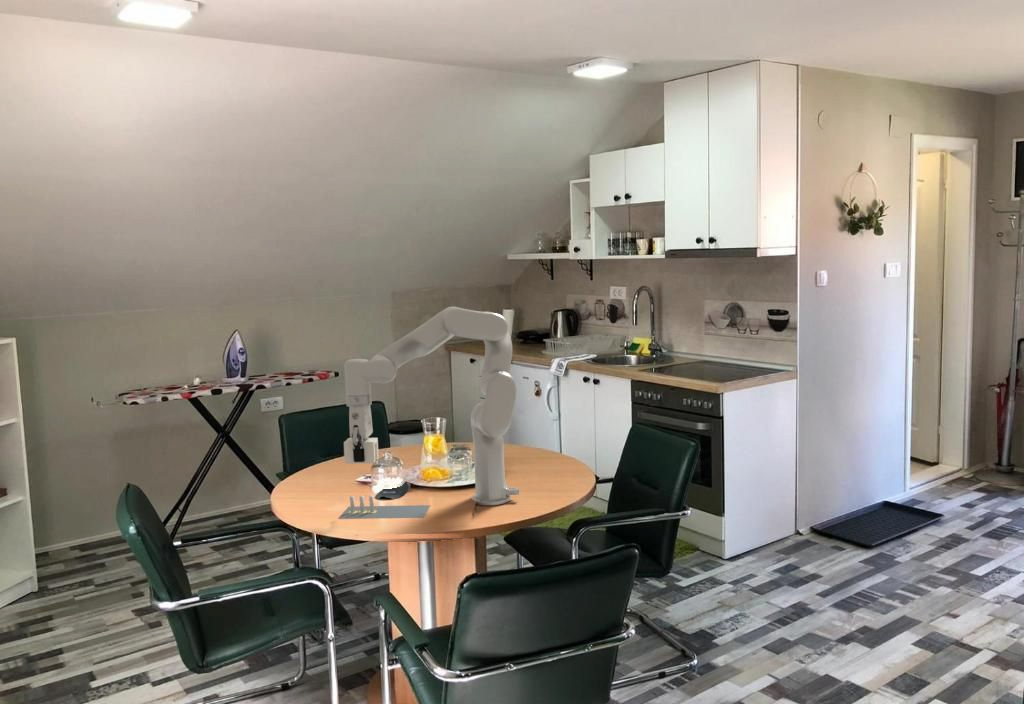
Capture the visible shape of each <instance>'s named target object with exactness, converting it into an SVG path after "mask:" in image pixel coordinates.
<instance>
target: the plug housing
mask: <svg viewBox="0 0 1024 704" xmlns="http://www.w3.org/2000/svg"><path fill="white" fill-rule="evenodd" d="M378 439H379V438H378V437H368V438H367V439H364V438H363V448H364V457H365V461H364V462H354V457H353V441H352V439H351V438H350V437H349V438H347V439H345V441H343V457H344V464H375V463H376V461H378V460H379V440H378ZM359 442H360V441H359Z"/></svg>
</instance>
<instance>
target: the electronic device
mask: <svg viewBox="0 0 1024 704" xmlns="http://www.w3.org/2000/svg"><path fill="white" fill-rule="evenodd" d="M403 483H404V484H403V485H402V486H400V487H397V488H392V489H383V488H382V489H381V490H380V491H379V492H378V493H376V495H375V496H374V497H375V499H376V500H381V499H380V498H382V497H385V498H387V499H392V500H398V499H401V498H403V497H404V496H405V495H407V494H408V491H409V490H410V488H411V484H410V482H403Z"/></svg>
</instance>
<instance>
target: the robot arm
mask: <svg viewBox="0 0 1024 704" xmlns="http://www.w3.org/2000/svg"><path fill="white" fill-rule="evenodd" d="M454 337H461V338H465V339H471V340H472V339H473V340H479V341H480V340H481V341H483V343H484V349H485V350H484V351H485V353H484V358H483V359H484V361H483V365H482V371H481V375H480V379H479V389H480V392H481V393H482V395H484V400H483V401H481V402H479V403H477V404H475V406H474V407H473V408H472V411H471V413H470V425H471V433H472V442H473V443H472V444H473V446H472V447H473V465H474V482H475V483H474V487H475V494H473V495H471V497H470V499H471V500H473V501H474V502H475V505H478V506H498V505H502V504H506V503H508V502H510V501H511V500H512V499H511V495H513V496H520V488H517V487H509V486H508V484H507V483H506V475H505V474H506V473H505V452H504V451H505V448H504V447H505V446H504V437H503V436H504V435H505V434H506V433H507V432H508V430H509V428H510V426H511V423H512V418H513V414H514V408H515V401H516V397H517V384H516V381H515V378H514V377H513V376H512V375H511V373H510V371H511V366H512V365H511V364H512V358H513V342H512V341H513V340H512V338H511V335H510V333H509V324H508V321H507V319H506V318H505V317H504V316H503V315H501V314H499V313H497V312H496V313H495V312H493V311H492V312H491V311H480V310H478V311H477V310H472V309H468V308H467V309H466V308H462V307H458V306H448V307H446V308H444V309H442V310H441V311H439V312H438V313H436V314H435V315H434V316H433V317H431V318H429V319H428V320H427V321H425V322H424V323H422V324H421V325H420V326H418V327H417V328H415V329H413V330H412V331H411V332H409V333H407V334H406V335H405V336H403V337H401V338H400V339H398V340H396V341H394V342H393V343H391V344H389V345H388V346H386V347H385V348H383V349H382V350H380V351H379V352H378V353H377V354H375V355H374V356H373V357H371V359H370V360H369V359H365V358H353V359H347V360H346V361H345V362H344V366H343V368H344V383H345V385H344V387H345V404H346V407H349V412H348V417H349V418H348V420H349V421H348V422H349V424H348V425H349V438H351V439H352V441H353V457H354V462H364V461H365V457H364V448H363V438H364V439H367V438H370V436H371V435H372V434H373V432H374V429H373V418H372V408H371V405H373V403H372V402H373V399H372V384H371V383H376V384H377V383H378V384H388V383H390V382H392V381H393V380H394V379H395V378H396V376H397V374H398V369H399V368H400V367H401V366H403V365H404V364H406V363H407V362H410V361H412V360H414V359H418V358H421V357H425V356H427V355H429V354H431V353H432V352H434V351H435V350H437V349H438V348H439V347H441V346H442V345H443V344H445V343H446V342H448V341H449V340H450V339H452V338H454ZM359 441H360V442H359Z"/></svg>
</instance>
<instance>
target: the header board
mask: <svg viewBox="0 0 1024 704" xmlns="http://www.w3.org/2000/svg"><path fill="white" fill-rule="evenodd" d="M368 498H369V500H368V501H369V506H368V505H366V506H365V499H364V495H359V506H355V496H354V495H351V496H349V502H350V503H349V504H350V506H348V507H346V509H345V510H344V511H343V512H342V514H340V516H339V517H338V518H337V519H338V520H345V519H346V520H348V519H349V520H355V519H356V520H357V519H359V520H360V519H363V520H364V519H367V520H368V519H410V518H411V519H412V518H417V519H420V518H425V517H426V514H427V512H428V511H429V509H430V507H431V504H428V505H427V504H426V505H422V504H420V505H419V504H418V505H417V504H416V505H415V504H414V505H375V504H374V502H375V501H374V495H369V496H368Z"/></svg>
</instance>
